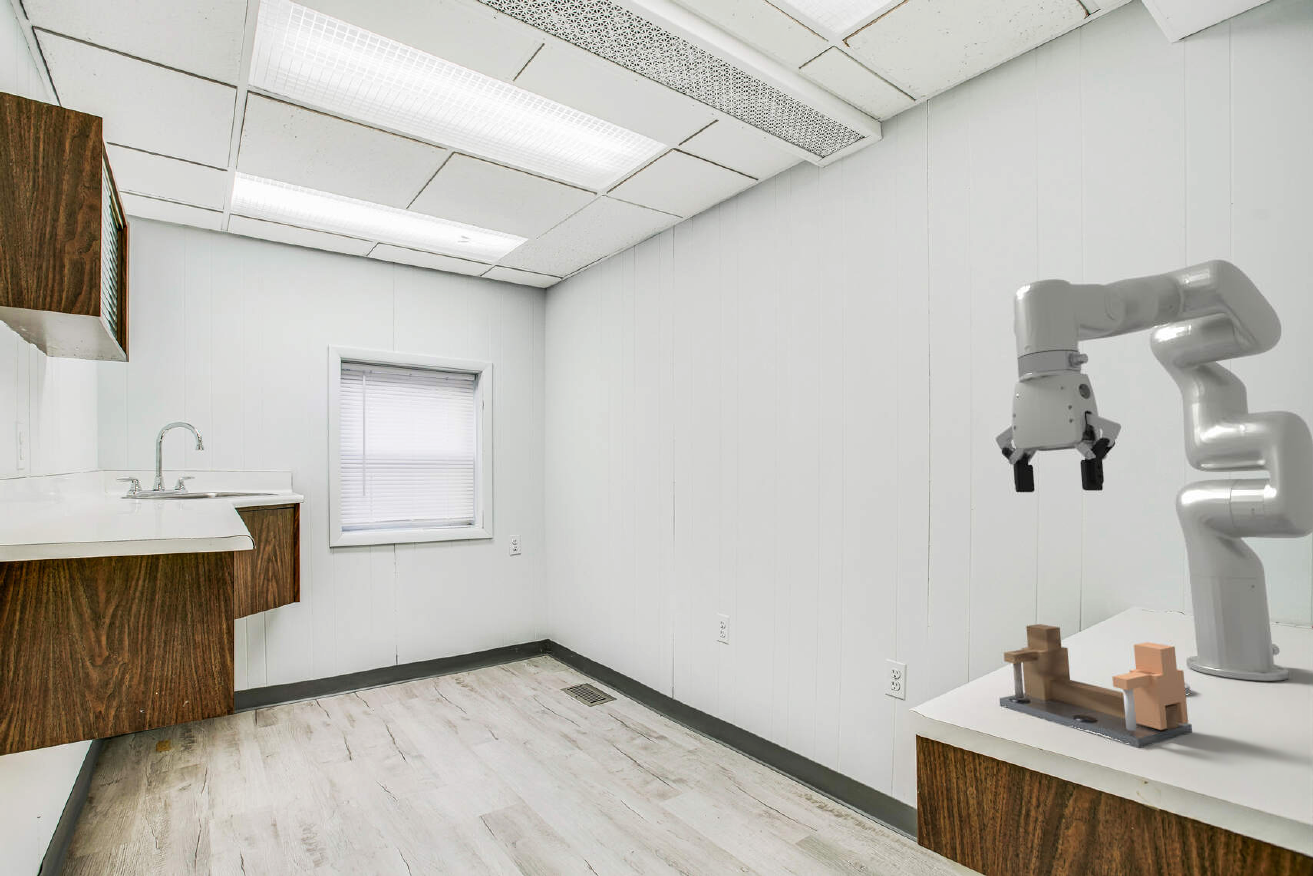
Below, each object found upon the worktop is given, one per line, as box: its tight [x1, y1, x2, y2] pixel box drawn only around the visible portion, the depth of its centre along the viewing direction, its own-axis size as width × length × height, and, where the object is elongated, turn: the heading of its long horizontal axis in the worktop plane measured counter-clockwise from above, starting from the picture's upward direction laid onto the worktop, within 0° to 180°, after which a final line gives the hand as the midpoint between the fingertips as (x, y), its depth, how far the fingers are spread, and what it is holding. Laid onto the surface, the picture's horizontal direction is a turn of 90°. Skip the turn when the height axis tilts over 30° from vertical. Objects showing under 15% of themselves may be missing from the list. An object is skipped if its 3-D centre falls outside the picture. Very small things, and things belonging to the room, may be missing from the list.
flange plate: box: [998, 692, 1193, 749], centre depth 86 cm, size 11×18×1 cm, turn 25°
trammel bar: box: [1003, 623, 1179, 730], centre depth 86 cm, size 10×18×10 cm, turn 25°
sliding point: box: [1111, 641, 1189, 731], centre depth 80 cm, size 10×3×9 cm, turn 115°
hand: (1057, 491), depth 90 cm, fingers open, 9 cm apart
